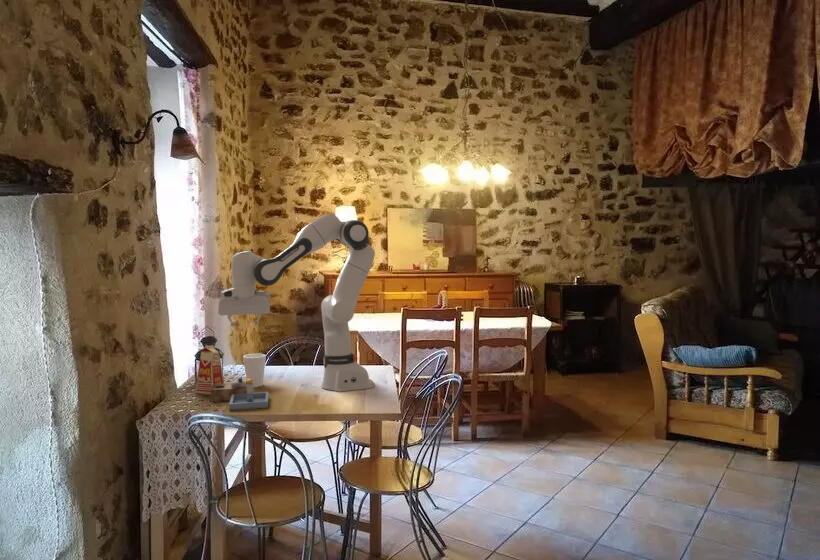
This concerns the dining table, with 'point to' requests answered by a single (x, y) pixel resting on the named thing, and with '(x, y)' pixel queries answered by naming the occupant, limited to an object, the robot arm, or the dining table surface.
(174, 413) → the dining table surface
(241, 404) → the dish
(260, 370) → the foam cup
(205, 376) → the milk carton
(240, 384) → the tensioner block
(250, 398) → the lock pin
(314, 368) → the dining table surface
